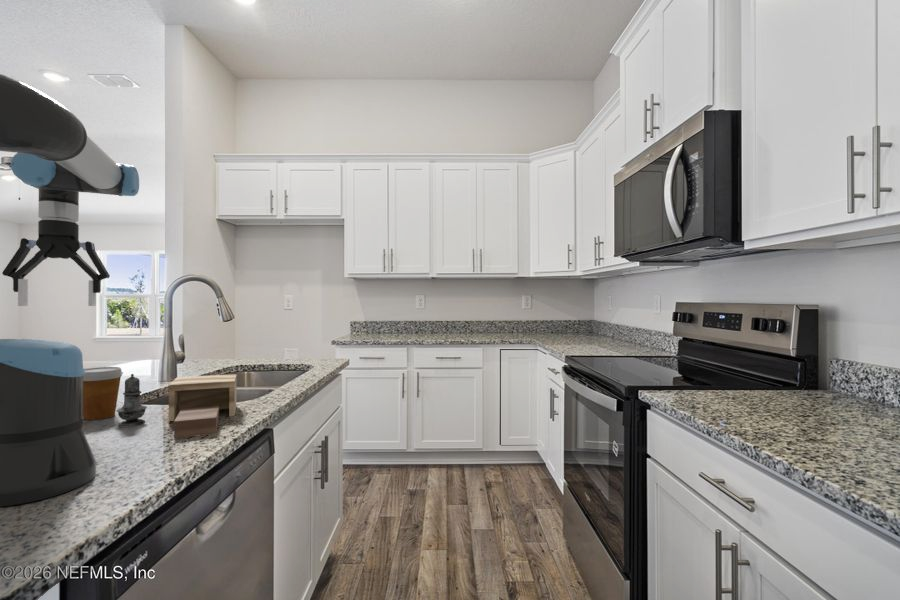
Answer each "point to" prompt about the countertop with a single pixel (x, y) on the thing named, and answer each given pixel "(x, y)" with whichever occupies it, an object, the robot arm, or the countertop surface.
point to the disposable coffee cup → (100, 392)
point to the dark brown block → (196, 421)
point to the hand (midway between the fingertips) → (58, 306)
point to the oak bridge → (202, 393)
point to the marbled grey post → (131, 404)
